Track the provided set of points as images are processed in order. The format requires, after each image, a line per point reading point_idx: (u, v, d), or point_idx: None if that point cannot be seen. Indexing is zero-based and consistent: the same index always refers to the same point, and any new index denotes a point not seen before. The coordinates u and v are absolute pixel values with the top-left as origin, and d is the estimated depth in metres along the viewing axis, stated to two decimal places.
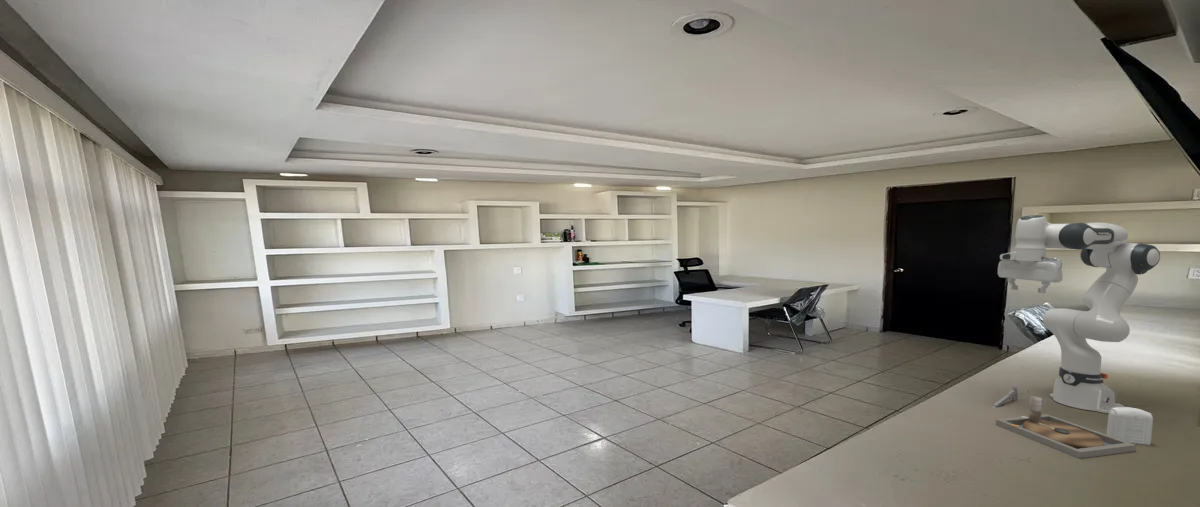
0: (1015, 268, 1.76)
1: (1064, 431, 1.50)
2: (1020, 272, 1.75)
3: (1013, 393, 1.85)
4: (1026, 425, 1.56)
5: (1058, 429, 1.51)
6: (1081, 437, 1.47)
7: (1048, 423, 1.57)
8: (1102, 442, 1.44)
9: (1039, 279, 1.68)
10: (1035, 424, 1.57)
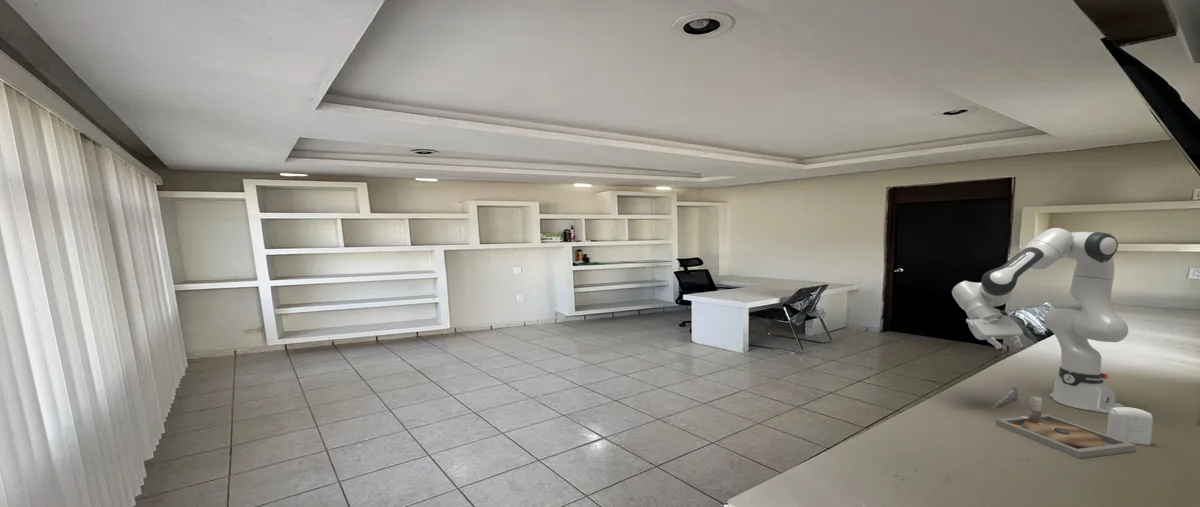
0: None
1: (1064, 431, 1.50)
2: None
3: (1013, 393, 1.85)
4: (1026, 425, 1.56)
5: (1058, 429, 1.51)
6: (1081, 437, 1.47)
7: (1048, 423, 1.57)
8: (1102, 442, 1.44)
9: None
10: (1035, 424, 1.57)
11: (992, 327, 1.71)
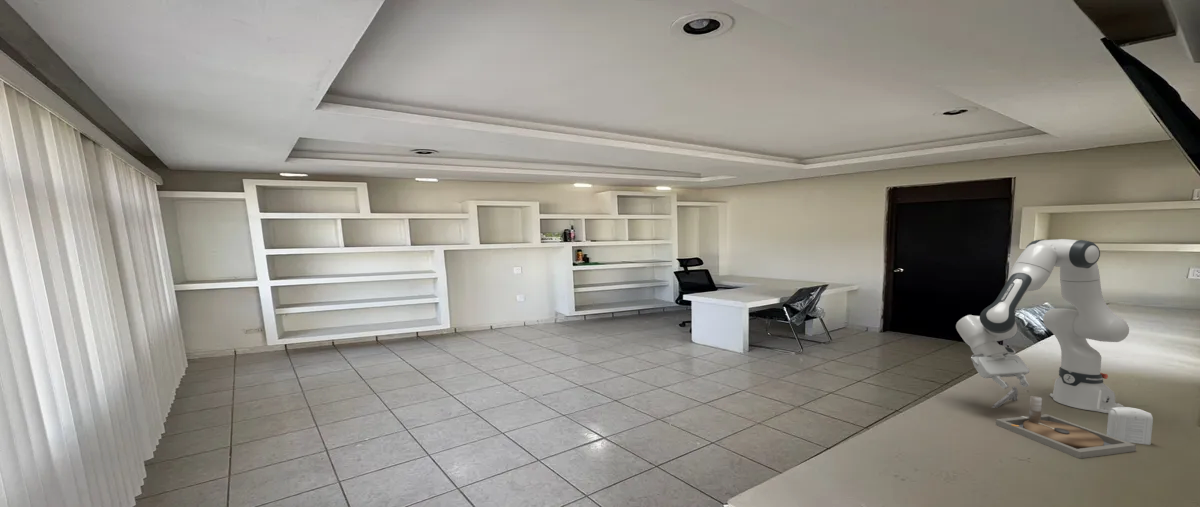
0: None
1: (1064, 431, 1.50)
2: None
3: (1013, 393, 1.85)
4: (1026, 425, 1.56)
5: (1058, 429, 1.51)
6: (1081, 437, 1.47)
7: (1048, 423, 1.57)
8: (1102, 442, 1.44)
9: None
10: (1035, 424, 1.57)
11: (997, 365, 1.67)
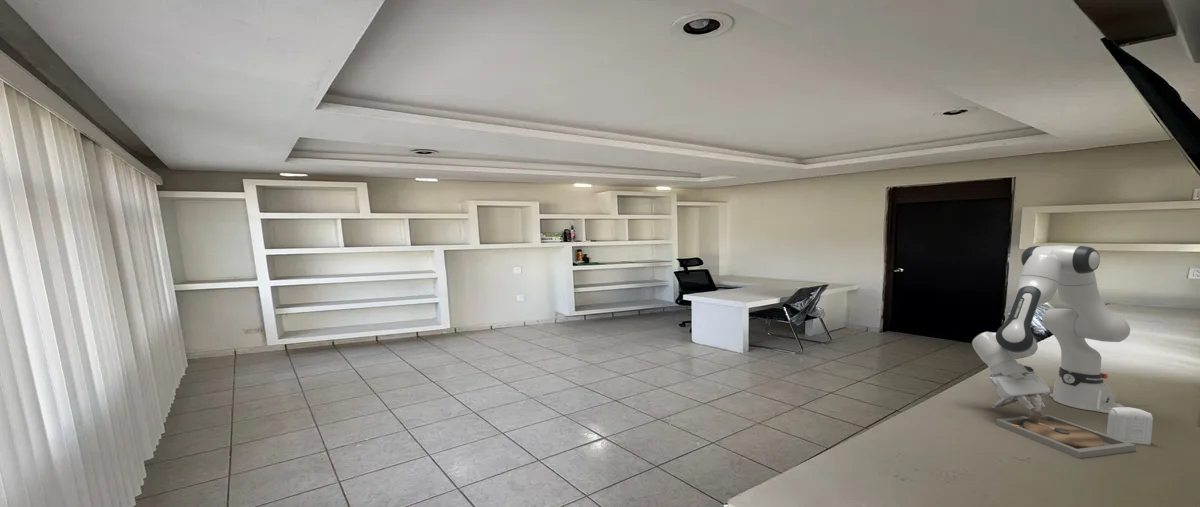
0: None
1: (1064, 431, 1.50)
2: None
3: None
4: (1026, 425, 1.56)
5: (1058, 429, 1.51)
6: (1081, 437, 1.47)
7: (1048, 423, 1.57)
8: (1102, 442, 1.44)
9: None
10: (1035, 424, 1.57)
11: (1017, 385, 1.61)
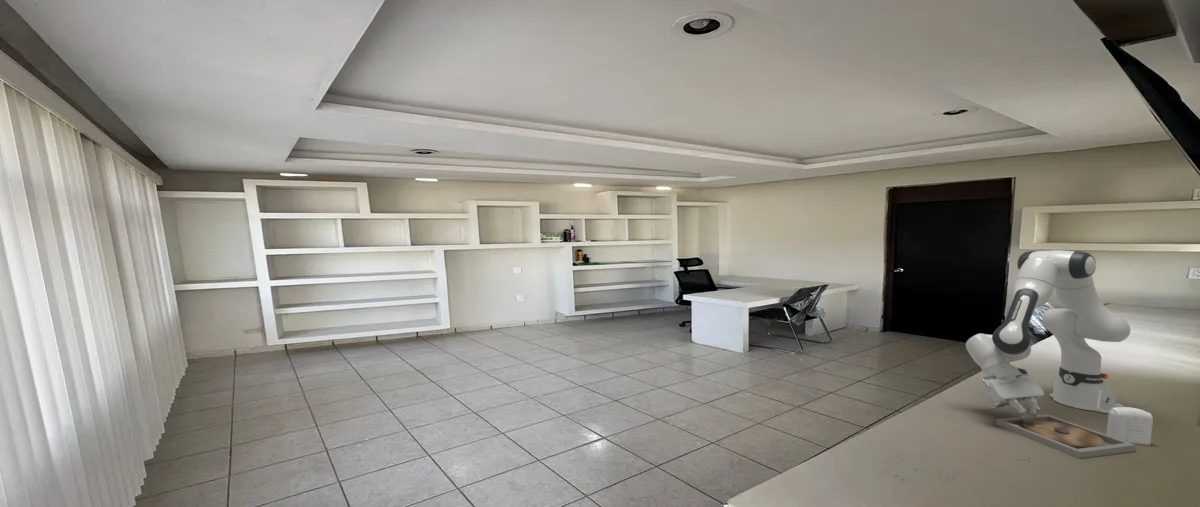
0: None
1: (1065, 431, 1.50)
2: None
3: None
4: (1034, 431, 1.51)
5: (1059, 430, 1.51)
6: (1081, 435, 1.48)
7: (1038, 423, 1.57)
8: None
9: None
10: (1035, 427, 1.54)
11: (1011, 388, 1.59)
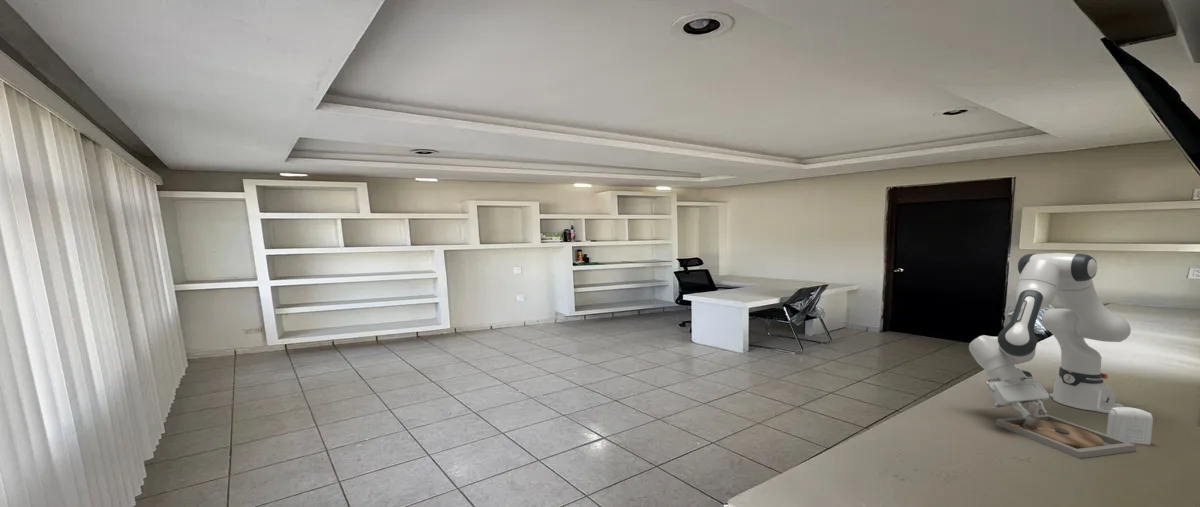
0: None
1: (1065, 431, 1.50)
2: None
3: None
4: (1047, 436, 1.48)
5: (1060, 430, 1.51)
6: (1077, 433, 1.50)
7: None
8: (1087, 431, 1.51)
9: None
10: (1040, 430, 1.52)
11: (1015, 391, 1.55)
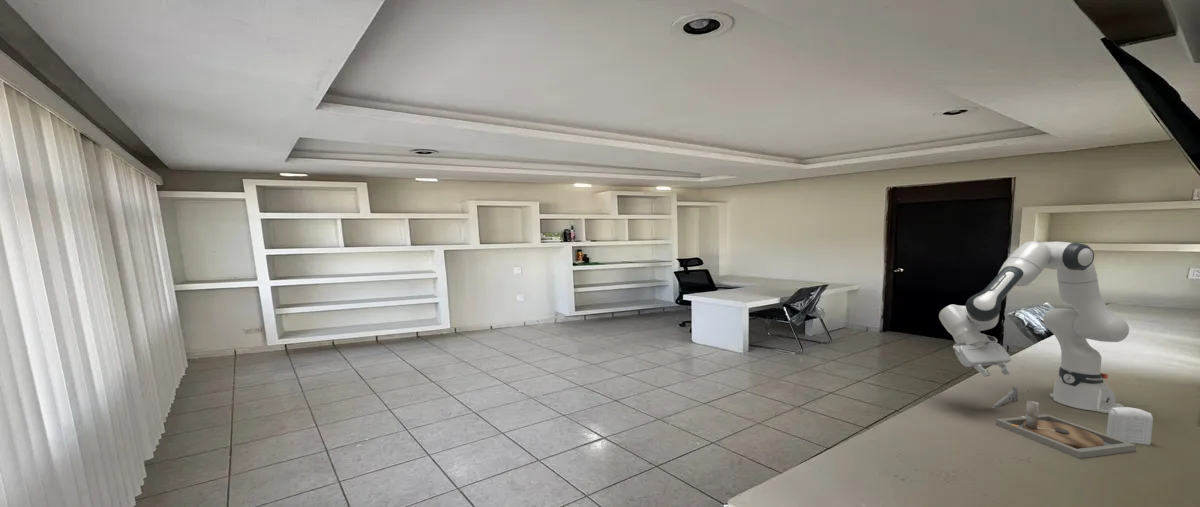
0: None
1: (1065, 431, 1.50)
2: None
3: (1013, 393, 1.85)
4: (1047, 436, 1.48)
5: (1060, 430, 1.51)
6: (1077, 433, 1.50)
7: None
8: (1087, 431, 1.51)
9: None
10: (1040, 430, 1.52)
11: (979, 354, 1.67)
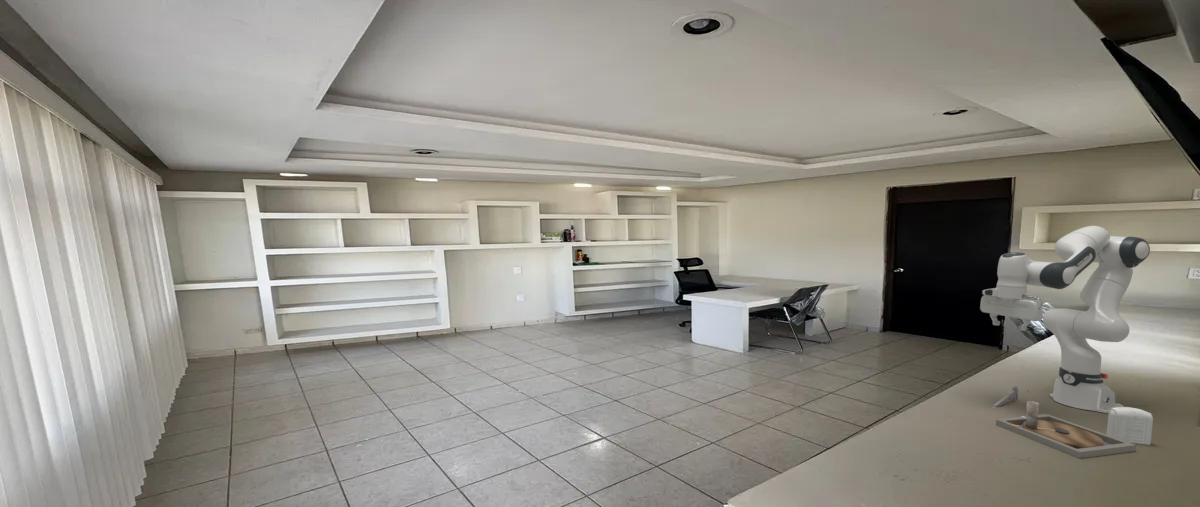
0: (997, 304, 1.78)
1: (1065, 431, 1.50)
2: (1002, 308, 1.76)
3: (1013, 393, 1.84)
4: (1047, 436, 1.48)
5: (1060, 430, 1.51)
6: (1077, 433, 1.50)
7: None
8: (1087, 431, 1.51)
9: (1020, 317, 1.70)
10: (1040, 430, 1.52)
11: None
